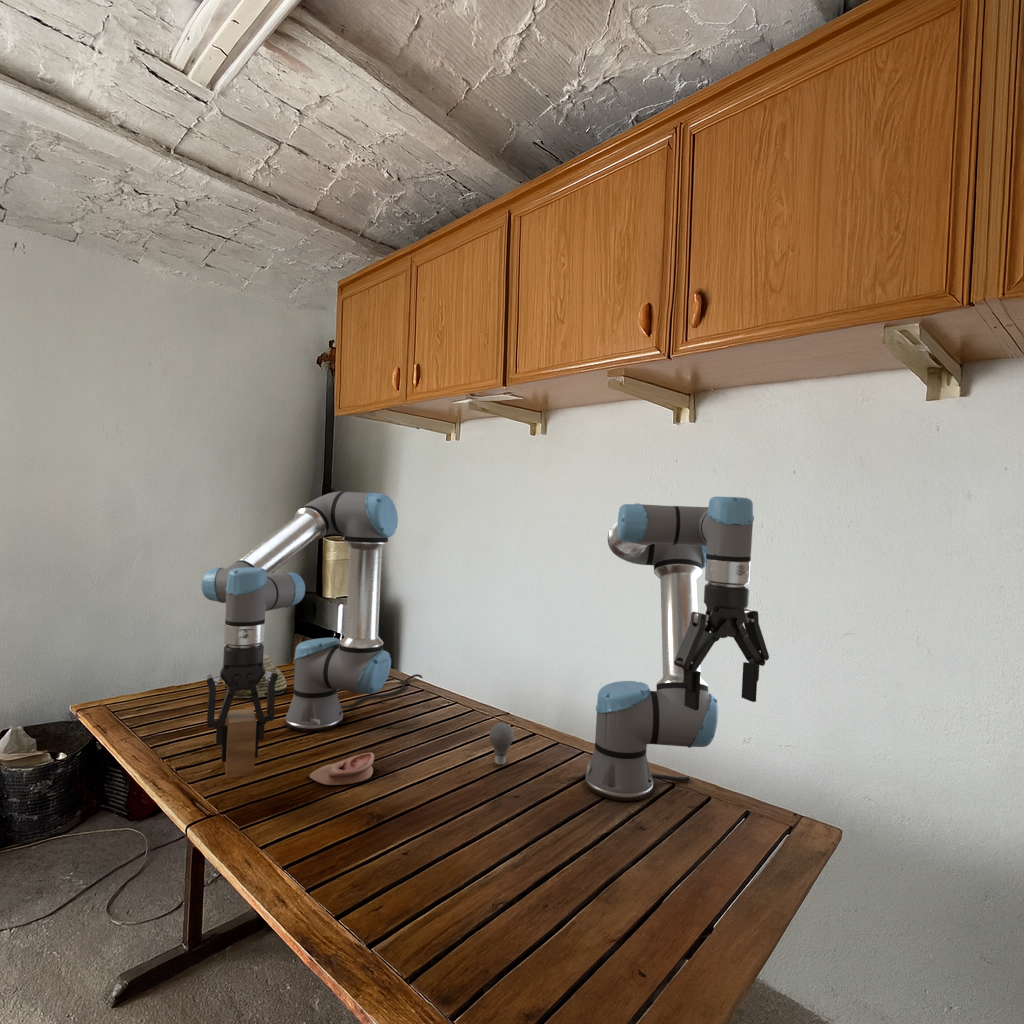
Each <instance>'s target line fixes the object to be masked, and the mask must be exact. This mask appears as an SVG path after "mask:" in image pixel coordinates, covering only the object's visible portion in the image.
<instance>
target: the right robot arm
mask: <svg viewBox="0 0 1024 1024" xmlns="http://www.w3.org/2000/svg"><path fill="white" fill-rule="evenodd" d="M754 521H755V516H754V502H753V501H752V499H751V498H750V497H739V496H711V498H710V499H709V501H708V506H688V505H687V506H685V505H660V504H642V503H624V504H622V505H621V506H620V507H619V509H618V515H617V521H616V522H615V523H614V524H613V525H612V526H611V527H610V528H609V530H608V534H607V545H608V547H609V550H610V551H611V552H612V554H613V555H615V556H616V557H618V558H619V559H621V560H623V561H625V562H627V563H631V564H635V565H640V566H651V567H652V566H653V574H654V575H655V576H656V577H657V578H658V579H659V580H660V582H659V583H660V615H661V616H660V617H661V618H660V619H661V657H662V658H661V659H662V661H661V662H662V677H660V679H659V680H658V681H657V682H656V686H655V687H656V690H651V688H650V686H649V684H647V683H645V682H642V681H636V680H619V681H614V682H610V683H607V684H605V685H603V686H602V687H600V689H599V691H598V692H597V700H596V705H595V711H596V717H595V718H596V719H595V720H596V722H595V738H594V751H593V753H592V756H591V759H590V761H588V764H587V766H586V771H585V778H584V779H585V780H584V782H585V783H584V784H585V786H586V788H587V789H588V790H589V791H590V792H592V793H593V794H595V795H597V796H599V797H601V798H605V799H608V800H612V801H619V802H636V801H637V802H638V801H642V800H645V799H647V798H649V797H650V796H651V795H652V794H653V792H654V780H653V779H657V780H666V781H674V782H689V781H690V780H691V778H690V776H672V775H668V774H659V773H658V774H657V773H652V772H651V769H650V764H649V761H648V757H647V746H648V745H656V746H657V745H658V746H671V747H684V748H685V747H687V748H688V749H689V748H706V747H708V746H710V744H711V743H712V742H713V740H714V738H715V735H716V731H717V726H718V720H719V704H718V698H717V697H716V695H714V694H713V693H709V685H708V684H707V682H706V681H704V679H703V678H702V674H701V672H702V671H701V664H702V663H703V661H704V660H705V658H706V657H707V656H708V654H709V653H710V651H711V649H712V647H713V646H714V644H715V643H716V642H718V641H719V640H720V639H726V638H729V637H730V638H733V640H734V641H735V643H736V644H737V646H738V648H739V650H740V651H741V653H742V654H743V656H744V658H745V659H746V661H744V662H742V678H741V699H744V700H746V701H749V702H752V703H756V702H757V694H758V693H757V691H758V682H759V679H760V666H761V667H764V666H765V665H766V661H768V660H769V659H770V654H769V651H768V649H767V645H766V641H765V639H764V635H763V633H762V630H761V626H760V621H759V612H758V611H757V610H753V609H749V604H750V589H749V587H748V586H746V585H749V584H750V580H751V579H750V578H751V577H750V576H751V574H750V573H751V560H752V544H753V527H754ZM704 568H705V570H704V580H705V581H706V582H707V583H705V585H704V589H703V603H704V604H705V607H706V610H705V613H702V612H699V611H698V592H697V591H698V590H697V579H698V578H699V577H700V576H701V575H702V574H703V569H704Z"/></svg>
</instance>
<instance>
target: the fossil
mask: <svg viewBox="0 0 1024 1024" xmlns="http://www.w3.org/2000/svg"><path fill="white" fill-rule="evenodd" d="M263 666H264V668H265V670H268V671H276V672H277V674H278V678H277V681H276V683H275V696H276V695H281V694H284V693H285V691H286V689H287V687H288V686H287V680H286V678H285V676H284V674H283V673H282V672H281V669H279V668H278V667H277V665H276V663H275V662H274V660H273V659H272V658H271V657H270V656H269V655H268V654H267V653H266V652H265V651H264V655H263ZM265 678H266V676H263V677H262V678H261V680H260V681H259V682H258V684H257V685H256V688H257V692H258V696H259V698H264V697H267V684H268V682H267V681H266V679H265ZM222 685H223V687H224V688H225V690H227V689H228V686H227V684H226V683H225V682H224V681H223V680H222ZM250 698H251V699H252V695H251V692H250V690H240V691H236V692H235V695H234V697H233V699H250Z"/></svg>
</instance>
